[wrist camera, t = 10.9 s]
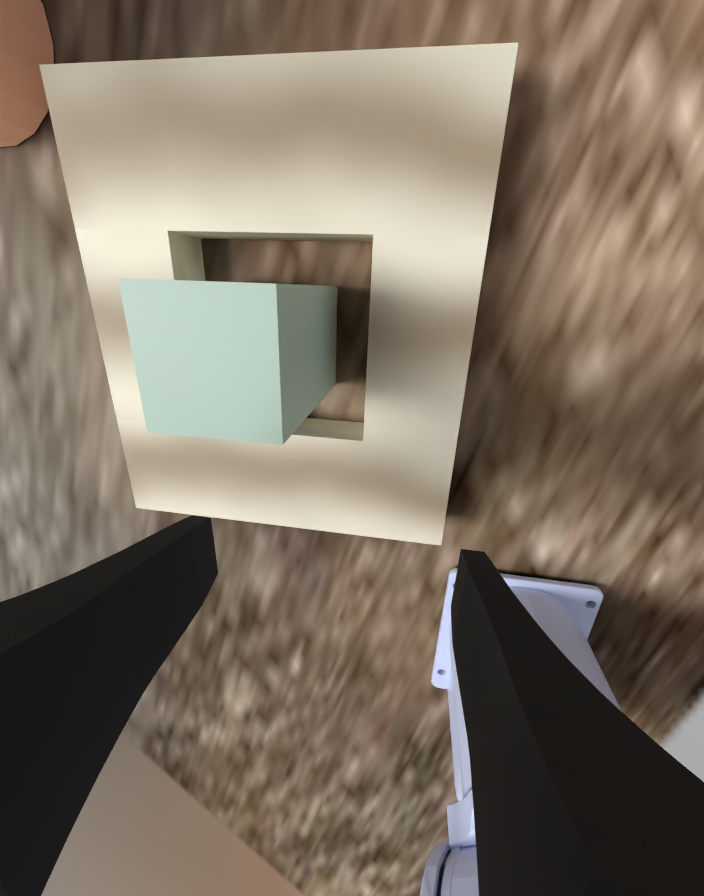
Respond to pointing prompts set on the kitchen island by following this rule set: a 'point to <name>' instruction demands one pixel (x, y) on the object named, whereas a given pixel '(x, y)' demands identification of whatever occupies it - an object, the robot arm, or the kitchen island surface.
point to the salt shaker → (22, 68)
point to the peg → (230, 355)
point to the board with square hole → (297, 219)
